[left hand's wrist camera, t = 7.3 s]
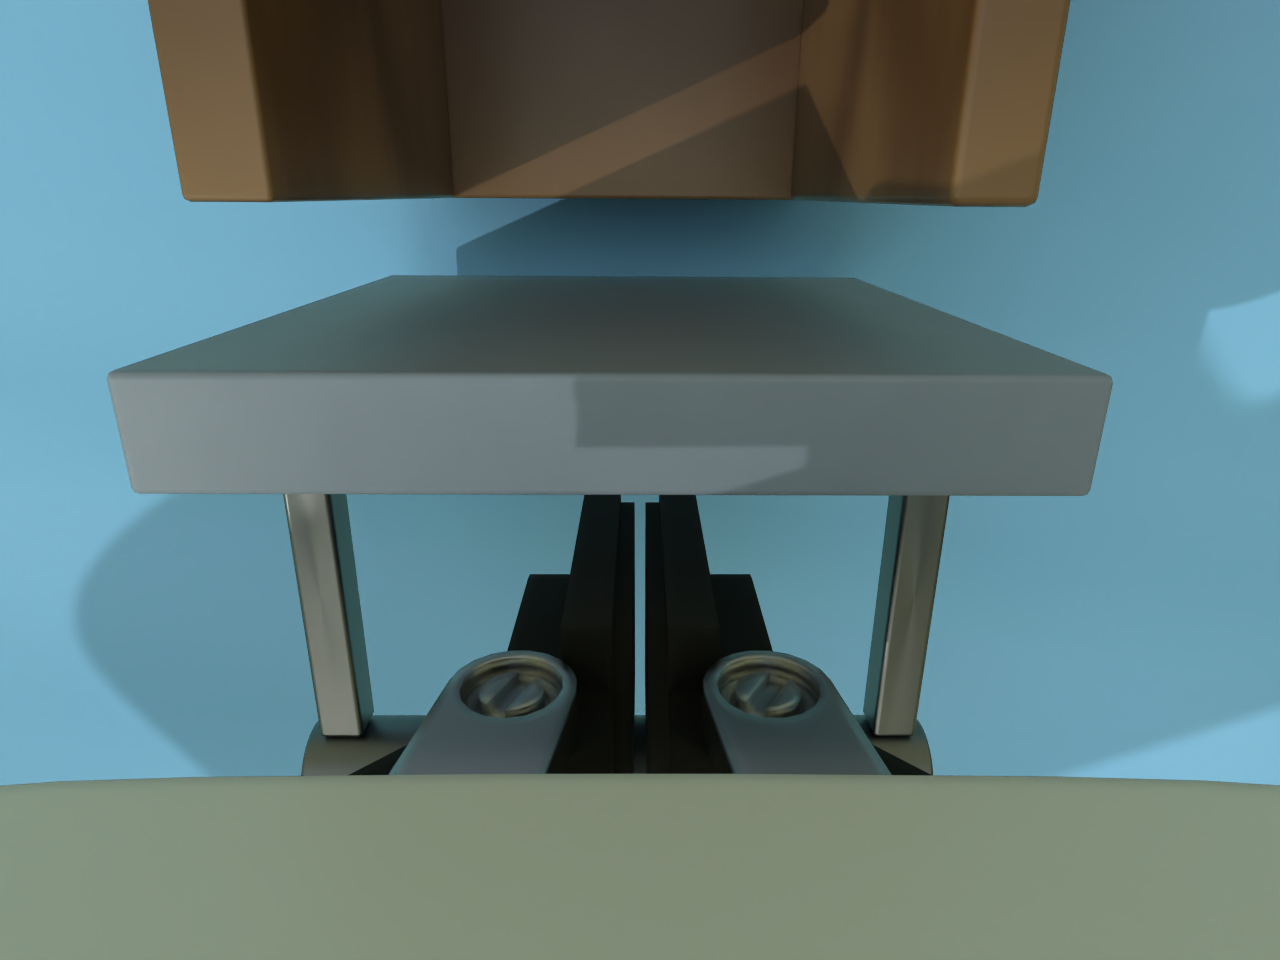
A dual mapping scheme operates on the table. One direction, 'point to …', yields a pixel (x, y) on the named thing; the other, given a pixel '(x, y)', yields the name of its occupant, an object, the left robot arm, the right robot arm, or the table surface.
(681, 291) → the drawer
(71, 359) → the table surface
